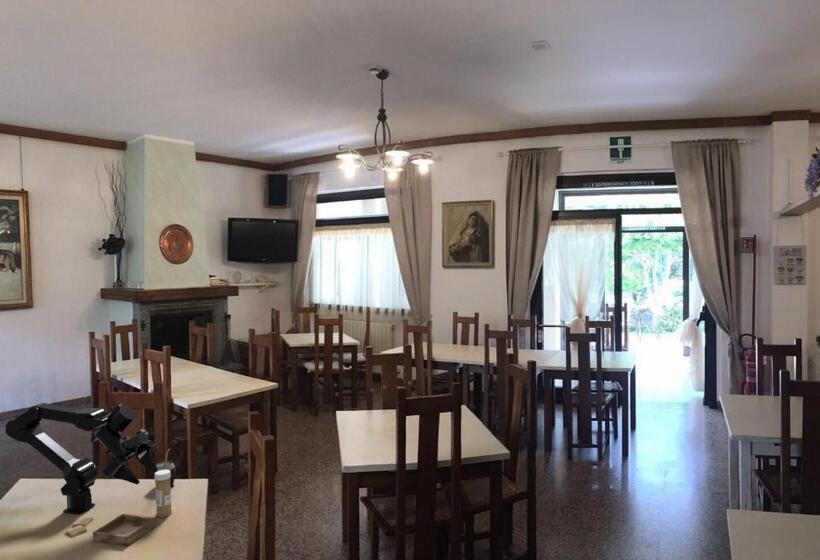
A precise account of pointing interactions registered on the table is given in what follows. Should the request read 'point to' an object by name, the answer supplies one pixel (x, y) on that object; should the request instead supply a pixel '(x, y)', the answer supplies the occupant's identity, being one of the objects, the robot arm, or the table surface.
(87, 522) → the oak tile
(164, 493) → the sprinkles bottle
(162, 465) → the mate gourd
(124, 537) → the box
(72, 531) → the oak tile
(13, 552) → the table surface
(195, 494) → the table surface
